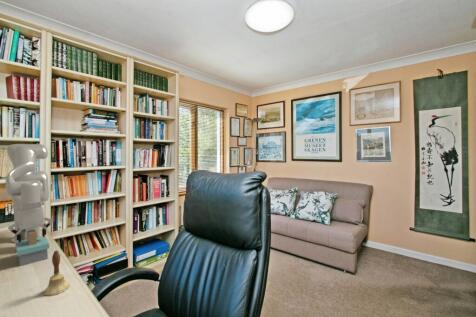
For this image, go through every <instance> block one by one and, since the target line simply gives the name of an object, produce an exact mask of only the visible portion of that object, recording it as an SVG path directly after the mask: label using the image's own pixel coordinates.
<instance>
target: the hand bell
mask: <svg viewBox="0 0 476 317" xmlns="http://www.w3.org/2000/svg"><path fill="white" fill-rule="evenodd" d="M51 262H52V265H53V275H51V276H50V278H49V281H48V284H47V287H46V288H45V289H44V291H43V292H42V293H43V295H44V296H47V297H48V296H49V297H51V295H53V296H56V294H57V295H60V294H62V293H64V292H65V290H66V291H67V290H68V289H69V288H70V283H69V282H67V281H66V279H65V276H64V274H63V273H60V263H61V254H60V253H59V250H58V249H57V250H54V251H53V254H52V258H51ZM59 293H60V294H59Z"/></svg>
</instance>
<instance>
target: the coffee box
mask: <svg viewBox="0 0 476 317" xmlns="http://www.w3.org/2000/svg"><path fill="white" fill-rule="evenodd" d="M18 229H19V228H18ZM33 229H35V230H36V232H37V237H40V230H39V229H40V227H35V228H30V229H24V230H22V231H21V232H20V234H21V241H23V240H27V230H33Z"/></svg>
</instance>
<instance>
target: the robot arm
mask: <svg viewBox="0 0 476 317" xmlns="http://www.w3.org/2000/svg"><path fill="white" fill-rule="evenodd" d="M6 152H7V156H8V159H9V160H10V161H11V163H12V166H13V167H12V169H11V170H10V171H9V172H8V173H7V175H6V177H5V191H6V194H7V195H9V196H10V197H11V202H12V207H13V216H14V217H13V218H14V220H13V222H14V223H13V224H11V225H9V226H8V227H7V229H8V230H9V231H10V232H11V233H13V234H14V237H13V238H11V243H15V242H18V241H19V242H21V234H20V232H21V231H22V230H24V229H30V228H35V227H39V228H40V227H41V236H43V237H46V235H47V229H48V228H49V227H50V226H51V224H52V223H53V221H54V220H53V219H52V218H48V217H45V213H44V208H43V206H44V205H45V202H47V201H48V200H49V197H50V195H49V194H50V191H49V177H48V174H47V172H45V171H41V170H38V171H35V170H36V169H37V160H45V159H47V158H48V155H49V152H48V148H47V146H45V145H44V144H39V143H38V144H37V143H36V144H35V143H29V144H28V143H14V144H9V145H8V146H7V147H6ZM45 221H47V223H46V224H45ZM18 228H19V229H18Z"/></svg>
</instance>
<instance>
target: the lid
mask: <svg viewBox="0 0 476 317" xmlns="http://www.w3.org/2000/svg"><path fill="white" fill-rule="evenodd" d="M14 245H15V246H14V247H15V251H16V256H17V257H18V256H20V255H24V254H28V253H32V252H36V251H40V250H44V249H47V250H49V249H50V242H49V241H48V239H47V237H46V236H45V237H43V236H42V235H41V236H39V237H37V232H36V230H35V229H33V230H27V240H23V241H21V242H19V241H18V242H14Z"/></svg>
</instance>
